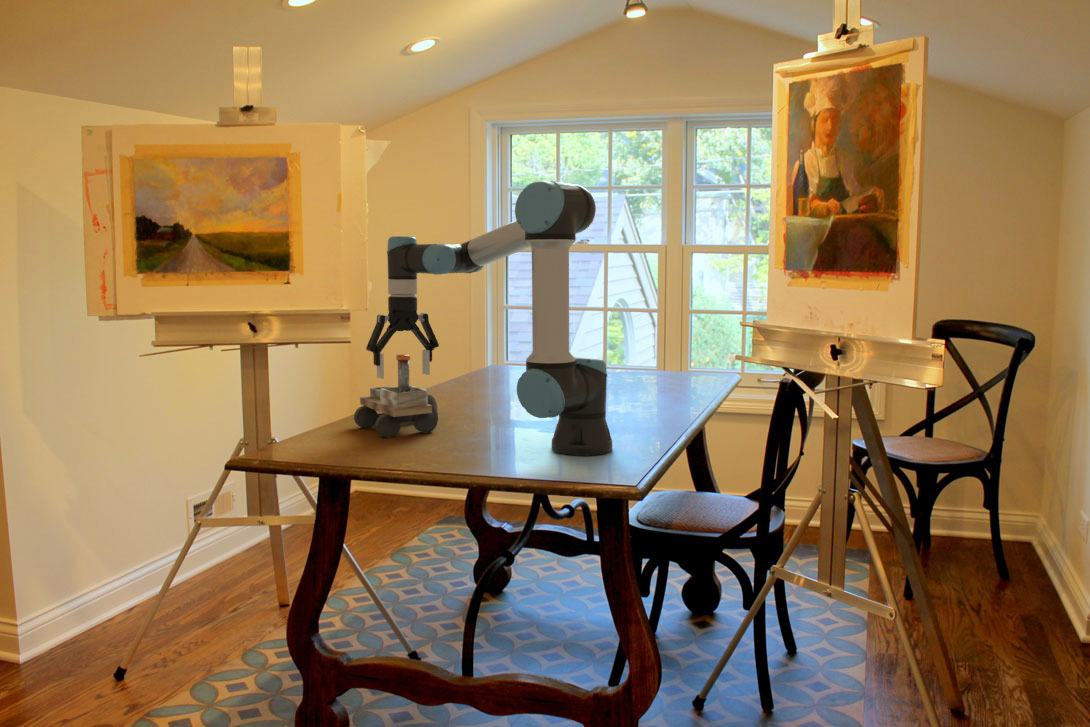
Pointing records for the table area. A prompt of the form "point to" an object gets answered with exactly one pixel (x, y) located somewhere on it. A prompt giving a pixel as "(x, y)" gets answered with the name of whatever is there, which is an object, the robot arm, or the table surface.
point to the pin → (403, 372)
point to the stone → (434, 405)
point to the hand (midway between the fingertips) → (403, 376)
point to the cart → (395, 410)
